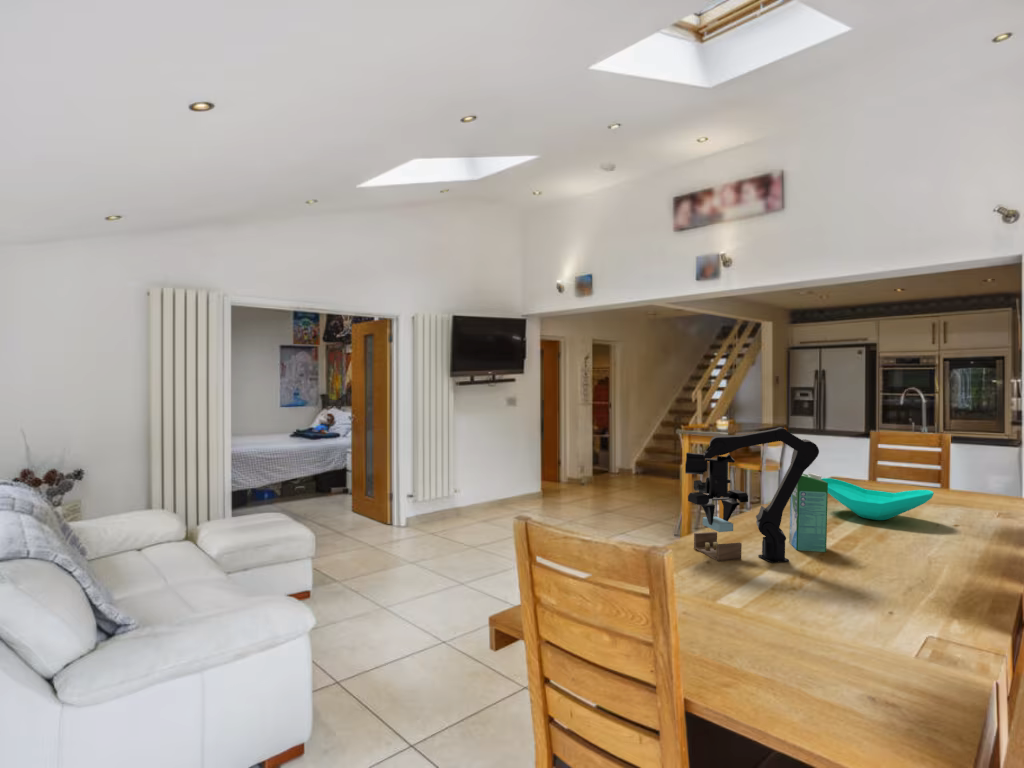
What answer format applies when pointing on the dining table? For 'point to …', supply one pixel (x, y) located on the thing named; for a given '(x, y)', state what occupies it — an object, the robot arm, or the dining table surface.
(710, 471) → the robot arm
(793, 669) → the dining table surface
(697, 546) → the cradle
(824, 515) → the milk carton
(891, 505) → the table top decor
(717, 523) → the block
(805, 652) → the dining table surface
